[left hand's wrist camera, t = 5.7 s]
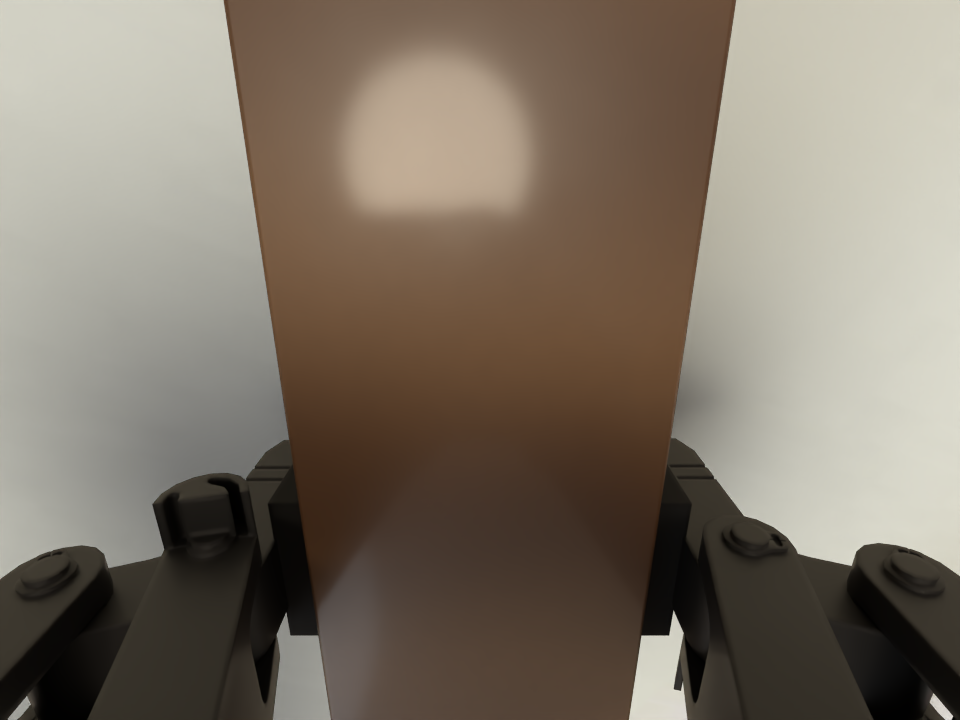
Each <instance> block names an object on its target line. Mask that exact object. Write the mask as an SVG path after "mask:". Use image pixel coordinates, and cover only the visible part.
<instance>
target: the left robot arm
mask: <svg viewBox="0 0 960 720" xmlns="http://www.w3.org/2000/svg"><path fill="white" fill-rule="evenodd" d="M152 505H153V509H154V513H155V516H156V520H157V524H158V527H159V531H160V535H161V538H162V542H163V546H164V552H163V554H162V556H161V557H157V558H154V559H150V560H145V561H141V562H136V563H131V564H127V565H122V566H117V567H113V568H108V565H107V562H106V559H105V556H104V554H103V553H102V552H101V551H100V550H98V549H97V548H95V547H89V546H74V547H66V548H61V549H57V550H53V551H52V552H47V553H44V554H41V555H39V556H37V557H36V558H34V559H32V560H30V561H27V562H25V563H23V564H21V565H20V566H18V567H17V568H15V569H14V570H12V571H11V572H10V573H8V574H7V575H5V576H4V577H3V578H1V579H0V720H8V718H9V716H10V715H11V714H12V713H13V712H14V710H15V709H16V708H17V707H18V706H19V704H20V703H21V702H22V701H23V700H24V699H25V697H26V696H28V699H29V701H30V703H31V705H30V706H29V708H28V709H27V710H26V711H25V712H24V714H23V715H22V716H21V717H20V718H19V719H18V720H273V712H274V703H275V695H276V686H277V678H278V669H279V661H280V653H279V645H278V640H277V632H278V630H279V627H280V625H281V623H282V621H283V618H284V616H285V614H286V612H287V618H288V623H289V629H290V635H318V629H317V622H316V616H315V609H314V602H313V596H312V589H311V582H310V575H309V569H308V562H307V555H306V549H305V542H304V535H303V528H302V522H301V515H300V508H299V502H298V495H297V488H296V481H295V475H294V468H293V461H292V455H291V448H290V441H289V440H284V441H282V442H281V443H279V444H278V445H276V446H275V447H273V448H271V449H270V450H268V451H267V452H266V453H265V454H264V455H263V457H262V458H261V459H260V461H259V462H258V463H257V465H256V466H255V469H253V470H252V471H251V473H250V474H249V475H248V476H247V478H246V480H245V479H243V478H242V477H241V476H238V475H234V474H229V473H216V474H207V475H203V476H198V477H194V478H191V479H189V480H186V481H184V482H181V483H179V484H176V485H175V486H173V487H171V488H170V489H168V490H167V491H165V492H164V493H162V494H161V495H160V496H159V497H158V498H157V500H156V501H155V502H154V503H153V504H152ZM673 610H674V612H675V614H676V616H677V619H678V621H679V623H680V626H681V628H682V630H683V632H684V634H683V640H682V645H681V650H680V656H679V661H678V666H677V672H676V677H675V684H674V689H675V690H680V691H681V687H682V682H683V685H684V694H685V702H686V711H687V719H688V720H945V719H944V718H943V717H942V716H941V715H940V714H939V713H938V712H937V711H936V710H935V708H934V707H933V706H932V705H931V704H930V700H931V697H932V695H933V693H934V694H935V695H936V696H937V697H938V699H939V700H940V701H941V702H942V703H943V705H944V706H945V707H946V708H947V709H948V710H949V712H950V713H951V714H952V715H953V718H952V720H960V576H959V575H957V574H956V573H954V572H953V571H952V570H950V569H949V568H947V567H946V566H944V565H943V564H942V563H940V562H938V561H936V560H934V559H932V558H930V557H928V556H926V555H924V554H922V553H920V552H918V551H915V550H912V549H907V548H905V547H901V546H897V545H889V544H881V543H876V544H869V545H864V546H863V547H861V548H860V549H859V550H858V551H857V552H856V555H855V558H854V561H853V564H852V566H849V565H844V564H839V563H834V562H830V561H825V560H820V559H816V558H811V557H807V556H804V555H800V554H798V553H797V551H796V549H795V547H794V546H793V545H792V543H791V542H790V541H789V539H788V538H787V537H786V536H784V535H783V534H782V533H780V532H779V531H778V530H776V529H775V528H774V527H772V526H769V525H767V524H765V523H763V522H761V521H759V520H756V519H752V518H748V517H744V516H743V514H742V513H741V512H740V510H739V509H738V508H737V506H736V505H735V504H734V502H733V501H732V500H731V499H730V497H729V496H728V495H727V493H726V492H725V491H724V489H723V488H722V487H721V485H720V484H719V483H718V481H717V480H716V479H714V476H713V475H712V473H711V472H710V471H709V470H708V468H705V464H704V463H703V462H702V460H701V459H700V458H699V456H698V455H697V454H696V452H695V451H694V450H692V449H691V448H689V447H688V446H686V445H685V444H683V443H682V442H680V441H679V440H677V439H671V440H670V447H669V453H668V460H667V467H666V474H665V480H664V487H663V494H662V500H661V507H660V514H659V520H658V527H657V534H656V541H655V547H654V554H653V561H652V567H651V574H650V581H649V588H648V594H647V601H646V608H645V614H644V621H643V628H642V634H641V635H669V633H670V627H671V621H672V615H673Z"/></svg>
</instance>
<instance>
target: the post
mask: <svg viewBox="0 0 960 720" xmlns="http://www.w3.org/2000/svg"><path fill="white" fill-rule="evenodd" d="M735 4H736V0H224V5H225V12H226V19H227V25H228V32H229V39H230V46H231V52H232V59H233V66H234V72H235V79H236V86H237V93H238V99H239V106H240V113H241V119H242V126H243V133H244V139H245V146H246V153H247V160H248V166H249V173H250V180H251V186H252V193H253V200H254V207H255V213H256V220H257V227H258V233H259V240H260V247H261V253H262V260H263V267H264V274H265V280H266V287H267V294H268V300H269V307H270V314H271V321H272V327H273V334H274V341H275V347H276V354H277V361H278V367H279V374H280V381H281V388H282V394H283V401H284V408H285V414H286V421H287V428H288V435H289V441H290V448H291V455H292V461H293V468H294V475H295V481H296V488H297V495H298V502H299V508H300V515H301V522H302V528H303V535H304V542H305V549H306V555H307V562H308V569H309V575H310V582H311V589H312V596H313V602H314V609H315V616H316V622H317V629H318V636H319V642H320V649H321V656H322V663H323V669H324V676H325V683H326V689H327V696H328V703H329V710H330V716H331V720H629V715H630V708H631V701H632V695H633V688H634V681H635V675H636V668H637V661H638V655H639V648H640V641H641V634H642V628H643V621H644V614H645V608H646V601H647V594H648V588H649V581H650V574H651V567H652V561H653V554H654V547H655V541H656V534H657V527H658V520H659V514H660V507H661V500H662V494H663V487H664V480H665V474H666V467H667V460H668V453H669V447H670V440H671V433H672V427H673V420H674V413H675V406H676V400H677V393H678V386H679V380H680V373H681V366H682V360H683V353H684V346H685V339H686V333H687V326H688V319H689V313H690V306H691V299H692V292H693V286H694V279H695V272H696V266H697V259H698V252H699V246H700V239H701V232H702V225H703V219H704V212H705V205H706V199H707V192H708V185H709V178H710V172H711V165H712V158H713V152H714V145H715V138H716V132H717V125H718V118H719V111H720V105H721V98H722V91H723V85H724V78H725V71H726V64H727V58H728V51H729V44H730V38H731V31H732V24H733V18H734V11H735Z"/></svg>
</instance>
